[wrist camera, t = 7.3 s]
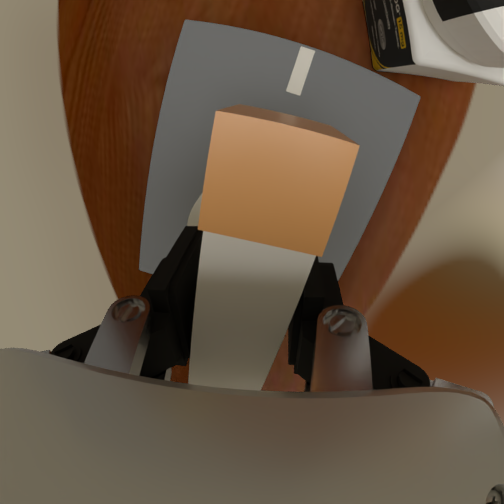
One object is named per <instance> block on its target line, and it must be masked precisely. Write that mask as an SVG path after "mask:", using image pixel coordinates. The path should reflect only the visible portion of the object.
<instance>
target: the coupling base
mask: <svg viewBox="0 0 504 504" xmlns="http://www.w3.org/2000/svg"><path fill="white" fill-rule="evenodd" d="M419 100H420V96H418V95H417V94H415V93H413V92H411V91H410V90H408V89H406V88H404V87H402V86H400V85H399V84H397V83H395V82H393V81H391V80H389V79H387V78H385V77H383V76H381V75H379V74H377V73H374V72H372V71H370V70H368V69H366V68H364V67H361V66H359V65H357V64H354V63H352V62H350V61H347V60H345V59H342V58H340V57H337V56H335V55H332V54H329V53H327V52H324V51H321V50H318V49H315V48H312V47H309V46H306V45H303V44H300V43H297V42H294V41H290V40H287V39H283V38H280V37H276V36H272V35H268V34H264V33H260V32H256V31H252V30H247V29H242V28H237V27H232V26H227V25H221V24H214V23H208V22H200V21H192V20H185V22H184V25H183V28H182V31H181V34H180V37H179V41H178V44H177V47H176V51H175V54H174V58H173V61H172V65H171V69H170V73H169V76H168V80H167V84H166V89H165V93H164V97H163V101H162V106H161V110H160V115H159V120H158V125H157V130H156V135H155V140H154V146H153V152H152V158H151V164H150V170H149V177H148V184H147V191H146V199H145V207H144V216H143V226H142V236H141V248H140V263H139V270H141V271H144V272H147V273H150V274H153V273H154V271H155V270H156V268H157V267H158V265H159V263H160V262H161V260H162V259H163V258H166V257H167V255H168V253H169V252H170V250H171V248H172V247H173V245H174V244H175V242H176V240H177V239H178V237H179V236H180V234H181V232H182V231H183V229H184V228H185V226H187V222H188V218H189V215H190V212H191V210H192V208H193V206H194V204H195V203H196V201H197V200H198V198H199V197H200V196H201V194H202V193H203V186H204V179H205V172H206V166H207V159H208V153H209V147H210V141H211V135H212V129H213V124H214V118H215V113H216V111H217V110H220V109H223V108H227V107H231V106H234V105H238V104H242V105H247V106H253V107H258V108H263V109H267V110H272V111H276V112H281V113H285V114H289V115H293V116H297V117H301V118H305V119H309V120H313V121H316V122H320V123H324V124H327V125H330V126H332V127H334V128H335V129H337V130H338V131H340V132H341V133H343V134H344V135H345V136H347V137H348V138H350V139H351V140H353V141H354V142H356V143H357V144H358V145H360V146H359V150H358V153H357V156H356V159H355V163H354V166H353V169H352V172H351V175H350V178H349V181H348V184H347V188H346V191H345V194H344V197H343V199H342V202H341V205H340V208H339V211H338V214H337V217H336V220H335V223H334V225H333V228H332V231H331V234H330V236H329V239H328V242H327V245H326V247H325V250H324V253H323V255H322V257H320V256H318V260H319V262H325V263H333V265H334V268H335V272H336V276H337V280H339V278H340V276H341V275H342V273H343V271H344V269H345V267H346V265H347V263H348V261H349V260H350V258H351V256H352V254H353V252H354V250H355V248H356V246H357V244H358V242H359V240H360V238H361V236H362V234H363V232H364V230H365V228H366V226H367V224H368V222H369V220H370V218H371V216H372V214H373V212H374V209H375V207H376V205H377V203H378V201H379V199H380V197H381V194H382V192H383V190H384V188H385V186H386V183H387V181H388V179H389V176H390V174H391V172H392V170H393V167H394V165H395V162H396V160H397V158H398V155H399V153H400V150H401V148H402V145H403V143H404V140H405V138H406V135H407V133H408V130H409V127H410V125H411V122H412V119H413V117H414V114H415V111H416V108H417V106H418V103H419Z"/></svg>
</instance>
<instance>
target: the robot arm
mask: <svg viewBox="0 0 504 504" xmlns="http://www.w3.org/2000/svg"><path fill="white" fill-rule="evenodd" d="M202 236H203V231H202V230H198V226H185V228H184V229H183V231H182V232H181V234H180V236H179V237H178V239H177V240H176V242H175V244H174V245H173V247H172V248H171V250H170V252H169V253H168V255H167V257H166V258H163V259H162V260H161V262H160V263H159V265H158V267H157V268H156V270H155V271H154V273H153V275H152V276H151V278H150V280H149V281H148V283H147V285H146V287H145V288H144V290H143V292H142V293H141V295H140V296H136V295H132V296H126V297H123V298H120V299H118V300H117V301H115V302H114V303H113V304H112V305H111V306H110V308H109V309H108V311H107V313H106V315H105V317H104V319H103V321H102V323H101V325H99V326H97V327H94V328H92V329H90V330H88V331H86V332H84V333H81V334H79V335H77V336H75V337H72V338H70V339H68V340H66V341H64V342H62V343H60V344H58V345H57V346H56V347H55V348H54V349H53V351H52V352H51V351H50V350H46V351H42V352H39V351H34V350H29V349H23V348H5V349H0V504H504V426H503V423H502V421H501V419H500V417H499V415H498V413H497V412H496V410H495V409H494V407H493V403H492V401H491V399H490V398H489V397H488V396H487V395H486V394H484V393H482V392H480V391H477V390H473V389H470V388H467V387H463V386H460V385H457V384H454V383H450V382H447V381H444V380H441V379H438V378H436V379H435V380H434V381H431V380H429V377H428V375H427V374H426V373H425V371H424V370H422V369H421V368H420V367H419V366H417V365H415V364H414V363H412V362H410V361H409V360H407V359H406V358H404V357H402V356H401V355H399V354H397V353H396V352H394V351H392V350H391V349H389V348H388V347H386V346H384V345H383V344H381V343H380V342H378V341H376V340H375V339H373V338H371V337H370V336H368V329H367V323H366V319H365V317H364V316H363V315H362V314H361V313H360V312H359V311H357V310H356V309H354V308H351V307H348V306H343V302H342V297H341V293H340V289H339V284H338V280H337V276H336V272H335V268H334V265H333V263H325V262H319V260H318V256H316V257H315V260H314V262H313V265H312V268H311V270H310V273H309V276H308V278H307V281H306V284H305V286H304V289H303V291H302V294H301V296H300V299H299V302H298V304H297V307H296V309H295V312H294V314H293V316H292V319H291V321H290V324H289V326H288V364H289V365H294V374H298V375H300V376H301V377H302V378H303V379H305V380H306V381H305V388H304V392H280V391H258V390H243V389H230V388H219V387H210V386H201V385H193V384H186V383H179V382H172V381H170V378H171V367H173V366H175V365H181V366H186V364H187V361H188V358H190V351H191V339H192V327H193V316H194V306H195V296H196V287H197V278H198V269H199V260H200V252H201V244H202Z"/></svg>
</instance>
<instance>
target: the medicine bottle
mask: <svg viewBox="0 0 504 504" xmlns="http://www.w3.org/2000/svg"><path fill="white" fill-rule="evenodd" d="M363 5H364V10H365V16H366V21H367V27H368V33H369V40H370V47H371V55H372V63H373V68H374V69H375V70H376V71H382V72H394V73H404V74H413V75H420V76H427V77H434V78H440V79H445V80H450V81H459V82H472V83H483V84H492V85H499V86H504V0H363Z"/></svg>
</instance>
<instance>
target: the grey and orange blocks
mask: <svg viewBox="0 0 504 504" xmlns="http://www.w3.org/2000/svg"><path fill="white" fill-rule="evenodd" d="M359 146H360V145H358V144H357V143H356V142H354V141H353V140H351V139H350V138H348V137H347V136H345V135H344V134H343V133H341V132H340V131H338V130H337V129H335V128H334V127H332V126H330V125H327V124H324V123H320V122H316V121H313V120H309V119H305V118H301V117H297V116H293V115H289V114H285V113H281V112H276V111H272V110H267V109H263V108H258V107H253V106H247V105H242V104H238V105H234V106H231V107H227V108H223V109H220V110H217V111H216V113H215V118H214V124H213V129H212V135H211V141H210V147H209V153H208V159H207V166H206V172H205V179H204V186H203V193H202V194H201V196H200V197H199V198H198V200H197V201H196V203H195V204H194V206H193V208H192V210H191V212H190V215H189V218H188V222H187V226H198V230H202V231H203V236H202V244H201V252H200V260H199V269H198V278H197V287H196V296H195V306H194V316H193V327H192V339H191V351H190V364H189V379H188V384H193V385H201V386H210V387H219V388H230V389H243V390H258V391H260V390H261V388H262V386H263V384H264V382H265V379H266V377H267V375H268V373H269V371H270V368H271V366H272V364H273V361H274V359H275V357H276V355H277V352H278V350H279V348H280V345H281V343H282V341H283V338H284V336H285V333H286V331H287V329H288V326H289V324H290V321H291V319H292V316H293V314H294V312H295V309H296V307H297V304H298V302H299V299H300V296H301V294H302V291H303V289H304V286H305V284H306V281H307V278H308V276H309V273H310V270H311V268H312V265H313V262H314V260H315V257H316V256H320V257H322V255H323V253H324V250H325V247H326V245H327V242H328V239H329V236H330V234H331V231H332V228H333V225H334V223H335V220H336V217H337V214H338V211H339V208H340V205H341V202H342V199H343V197H344V194H345V191H346V188H347V184H348V181H349V178H350V175H351V172H352V169H353V166H354V163H355V159H356V156H357V153H358V150H359Z"/></svg>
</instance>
